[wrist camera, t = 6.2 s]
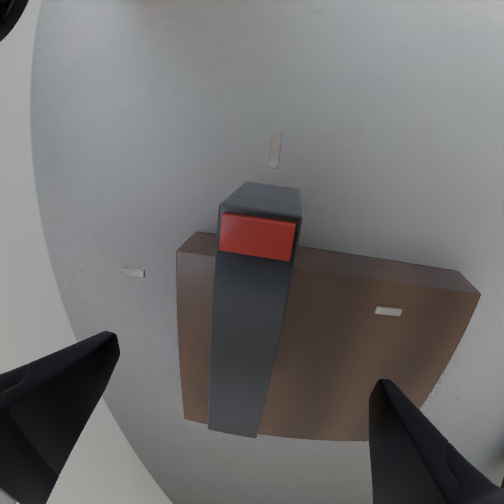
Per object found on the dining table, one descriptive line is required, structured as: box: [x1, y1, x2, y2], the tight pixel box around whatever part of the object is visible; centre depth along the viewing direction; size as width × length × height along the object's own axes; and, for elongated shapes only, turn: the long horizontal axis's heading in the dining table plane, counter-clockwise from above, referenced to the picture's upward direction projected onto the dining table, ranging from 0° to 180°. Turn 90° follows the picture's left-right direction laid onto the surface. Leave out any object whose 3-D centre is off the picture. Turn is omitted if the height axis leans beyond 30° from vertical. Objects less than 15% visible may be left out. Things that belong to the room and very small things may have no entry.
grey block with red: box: [208, 182, 302, 438], centre depth 11 cm, size 10×2×5 cm, turn 174°
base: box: [120, 133, 481, 441], centre depth 16 cm, size 19×19×3 cm
